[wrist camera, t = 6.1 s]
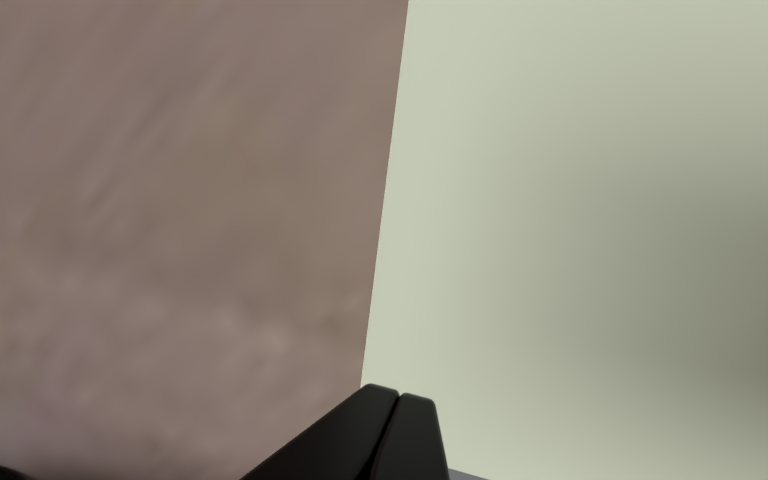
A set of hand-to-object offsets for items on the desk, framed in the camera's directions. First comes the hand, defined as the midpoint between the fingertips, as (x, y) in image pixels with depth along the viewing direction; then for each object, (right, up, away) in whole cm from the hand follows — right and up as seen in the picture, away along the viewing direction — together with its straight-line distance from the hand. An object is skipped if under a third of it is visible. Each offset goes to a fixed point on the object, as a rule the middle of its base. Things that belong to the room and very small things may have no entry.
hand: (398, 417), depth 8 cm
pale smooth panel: (0, +3, +5) cm, 6 cm away
